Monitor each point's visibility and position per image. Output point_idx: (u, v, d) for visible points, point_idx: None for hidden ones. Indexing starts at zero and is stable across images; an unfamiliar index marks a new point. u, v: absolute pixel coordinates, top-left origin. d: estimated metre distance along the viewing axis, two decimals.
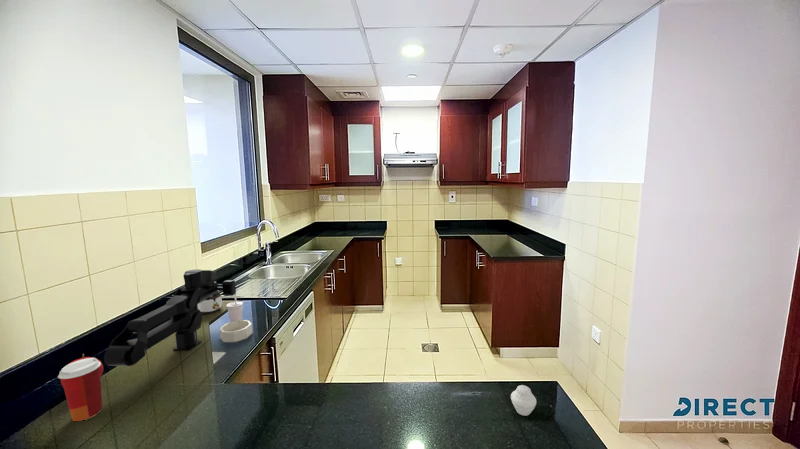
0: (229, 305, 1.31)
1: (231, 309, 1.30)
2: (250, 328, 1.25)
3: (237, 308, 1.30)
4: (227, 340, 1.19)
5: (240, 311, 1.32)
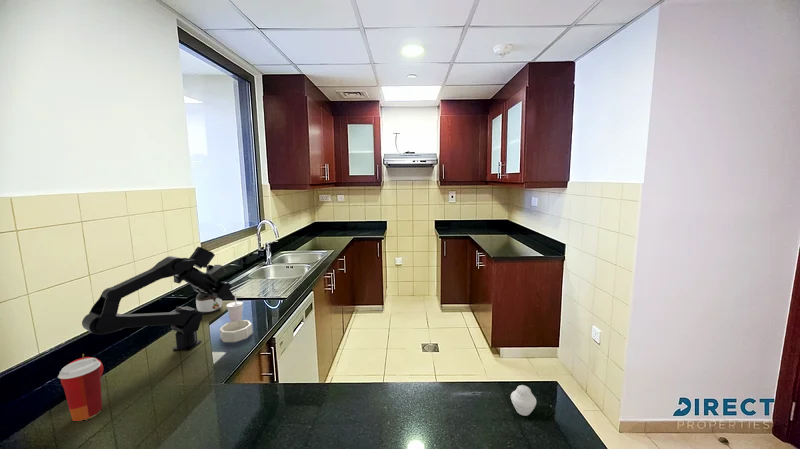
0: (229, 305, 1.31)
1: (231, 309, 1.30)
2: (250, 328, 1.25)
3: (237, 308, 1.30)
4: (227, 340, 1.19)
5: (240, 311, 1.32)
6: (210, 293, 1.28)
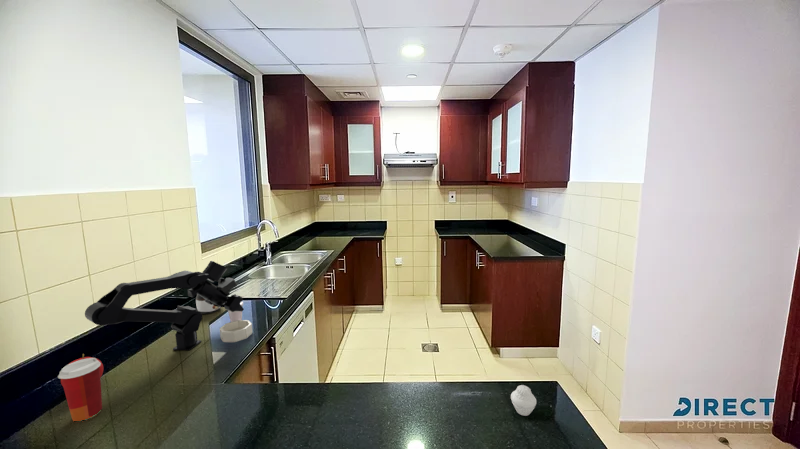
0: None
1: None
2: (250, 328, 1.25)
3: None
4: (227, 340, 1.19)
5: (240, 311, 1.32)
6: (223, 306, 1.32)
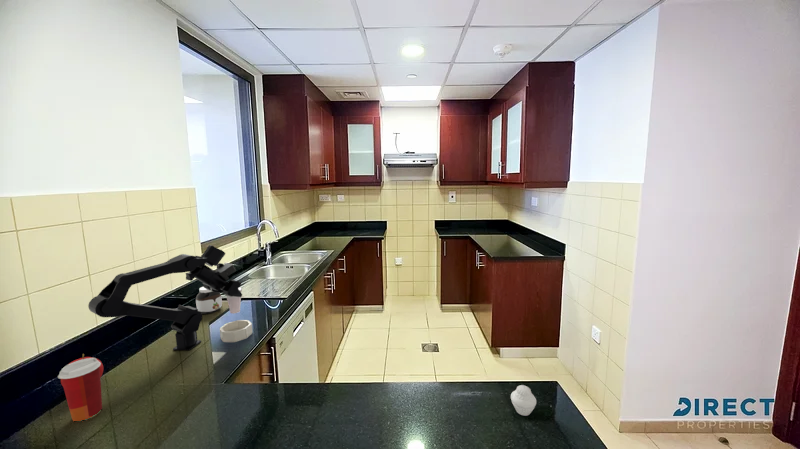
0: None
1: None
2: (250, 328, 1.25)
3: None
4: (227, 340, 1.19)
5: (239, 297, 1.31)
6: (222, 291, 1.31)
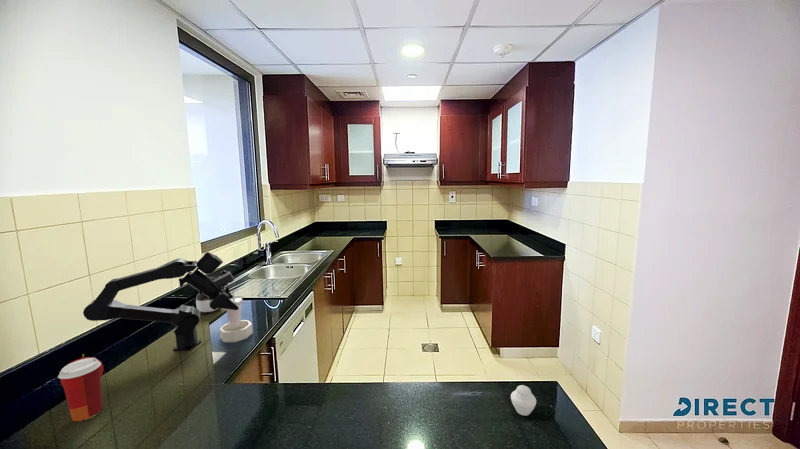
0: None
1: None
2: (250, 328, 1.25)
3: None
4: (227, 340, 1.19)
5: None
6: None
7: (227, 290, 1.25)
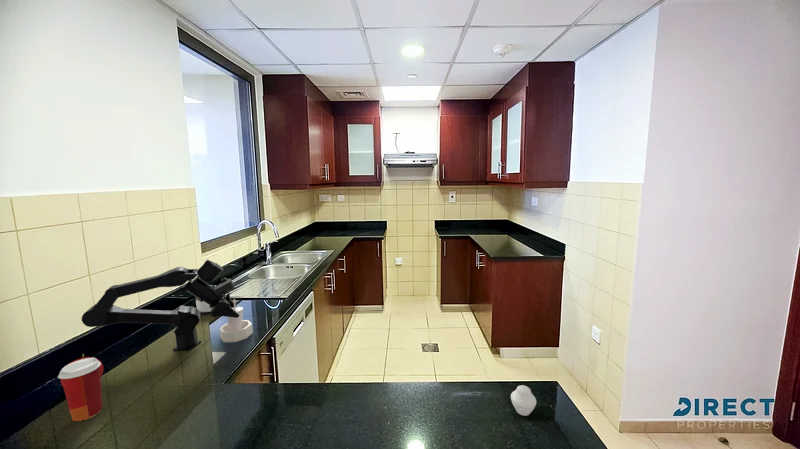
0: None
1: None
2: (250, 328, 1.25)
3: None
4: (227, 340, 1.19)
5: (237, 318, 1.22)
6: None
7: (228, 297, 1.26)
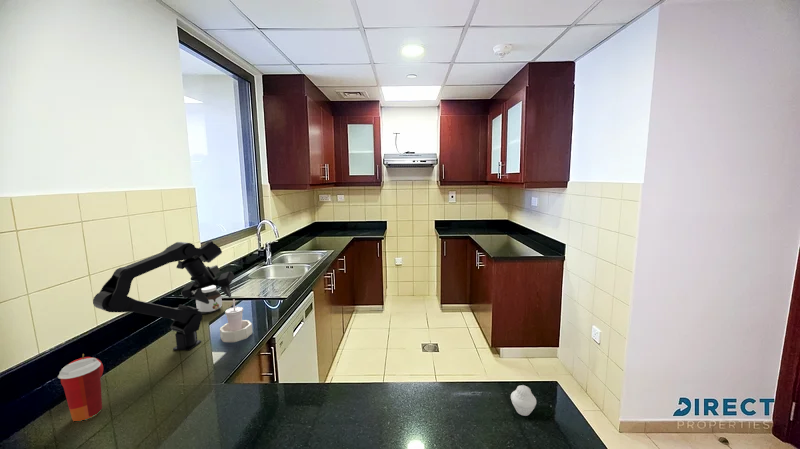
0: (228, 310, 1.23)
1: (227, 315, 1.21)
2: (250, 328, 1.25)
3: (232, 315, 1.21)
4: (227, 340, 1.19)
5: (236, 319, 1.22)
6: (200, 298, 1.23)
7: (200, 289, 1.25)
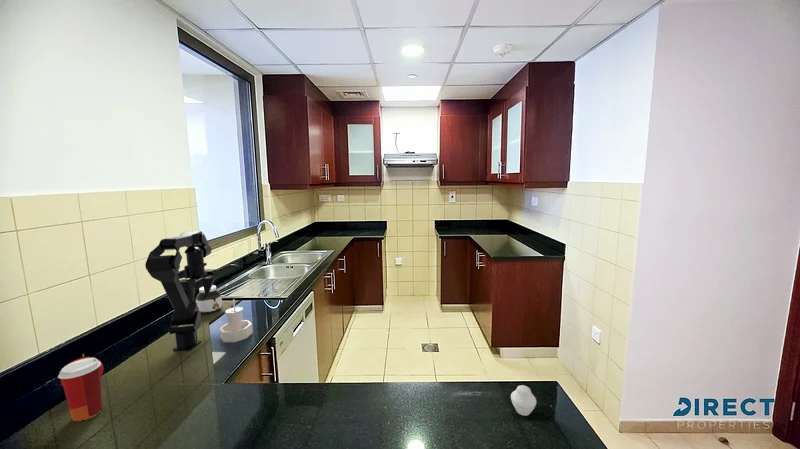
0: (228, 310, 1.23)
1: (227, 315, 1.21)
2: (250, 328, 1.25)
3: (232, 315, 1.21)
4: (227, 340, 1.19)
5: (236, 319, 1.22)
6: None
7: None
